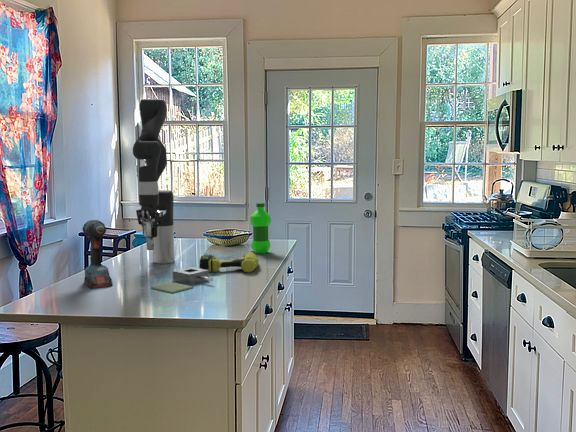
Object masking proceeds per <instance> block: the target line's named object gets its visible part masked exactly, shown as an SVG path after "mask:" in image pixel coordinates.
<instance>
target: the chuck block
mask: <svg viewBox="0 0 576 432" xmlns="http://www.w3.org/2000/svg"><path fill="white" fill-rule="evenodd" d="M209 275H210V273H209V270H205V269H200V267H192V266H191V267H185V268H182V269H181V268H180V269H177V270H172V282H174V283H179V284H184V285H188V286H192V285H194V284H198V283H204V282H206V281H209V282H213V281H214V278H213V277H210V276H209Z"/></svg>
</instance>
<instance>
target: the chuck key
mask: <svg viewBox="0 0 576 432" xmlns="http://www.w3.org/2000/svg"><path fill="white" fill-rule="evenodd" d="M153 223H155V222H153ZM141 224H142V226H144V236H143V237H145V238H146V239H145V242H146V245H145V246H146V247H145V248H146V250H147V251H153V250H154V238H153V237H152V236H151V228H152V227H151V223H150V222H149V221H145V222H143V223H141ZM142 226H141V227H142Z"/></svg>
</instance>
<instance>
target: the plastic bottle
mask: <svg viewBox="0 0 576 432" xmlns="http://www.w3.org/2000/svg"><path fill="white" fill-rule="evenodd" d="M255 206H256V208H257V209H256V210H255V211H254V212H253V213H252V214H251V216H250V224H251V226H252V231H253V232H252V233H253V235H252V237H253V239H252V241H251V249H252V251H254V252H256V254H258V253H263V254H266V253H267V252H269V251H270V249H271V242H270V240H269V226H270V225H271V222H272V218H271V215H270V214H269V212H267V211H265V210H264V207H265V206H266V204H265V202H256V204H255Z"/></svg>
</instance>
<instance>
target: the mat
mask: <svg viewBox="0 0 576 432" xmlns="http://www.w3.org/2000/svg"><path fill="white" fill-rule="evenodd" d="M150 288H151V289H153V290H156V291H160V292H165V293H169V294H175V293H178V292H179V293H180V292H184V291H187V290H190V289H194V286H193V285H189V284H184V283H180V282H175V281H171V282H166V283H162V284H159V285H154V286H151V287H150Z"/></svg>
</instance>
